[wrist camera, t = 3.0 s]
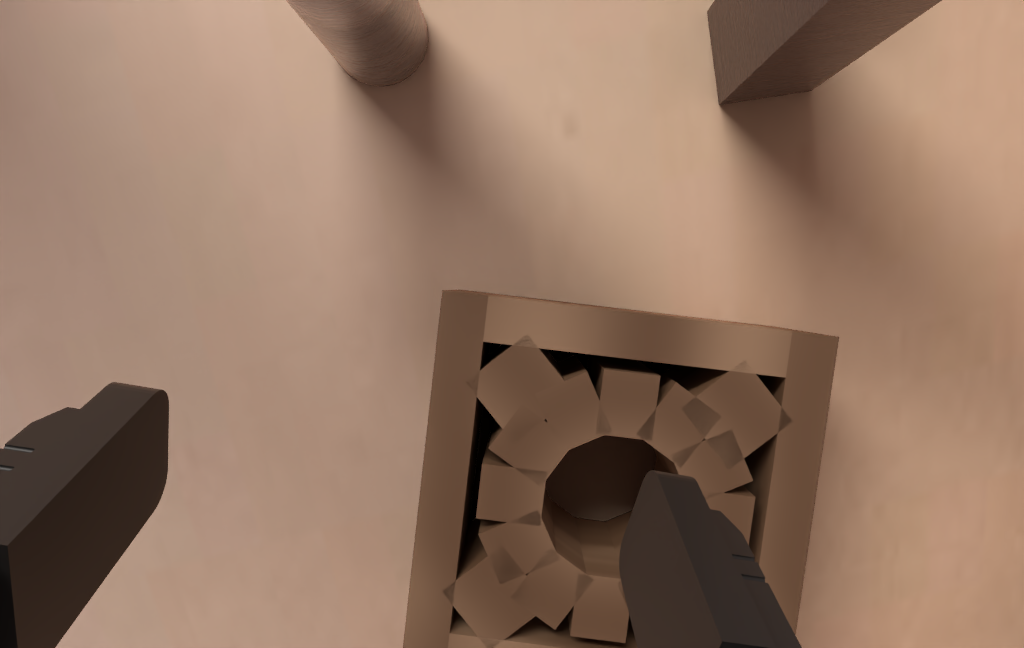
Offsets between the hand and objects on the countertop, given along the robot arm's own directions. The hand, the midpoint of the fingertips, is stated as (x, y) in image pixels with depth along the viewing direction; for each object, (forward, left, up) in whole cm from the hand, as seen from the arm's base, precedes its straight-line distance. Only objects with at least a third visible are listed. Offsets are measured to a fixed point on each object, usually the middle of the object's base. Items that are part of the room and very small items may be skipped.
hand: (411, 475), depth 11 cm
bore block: (+5, -3, -14) cm, 15 cm away
